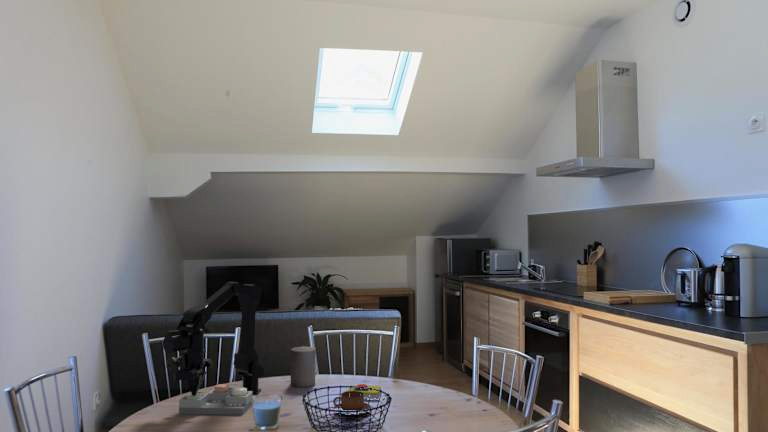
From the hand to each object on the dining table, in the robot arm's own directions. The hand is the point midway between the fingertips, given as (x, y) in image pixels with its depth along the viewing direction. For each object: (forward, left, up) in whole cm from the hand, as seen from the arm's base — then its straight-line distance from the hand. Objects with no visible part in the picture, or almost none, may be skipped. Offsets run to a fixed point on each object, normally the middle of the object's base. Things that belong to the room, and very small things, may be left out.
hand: (194, 395), depth 183 cm
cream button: (-4, +14, -1) cm, 15 cm away
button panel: (-4, +7, -5) cm, 9 cm away
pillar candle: (-35, +29, -5) cm, 46 cm away
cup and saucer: (0, +52, -5) cm, 53 cm away
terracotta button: (-8, +7, -1) cm, 10 cm away
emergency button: (-19, +55, -6) cm, 59 cm away
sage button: (0, 0, -3) cm, 3 cm away
